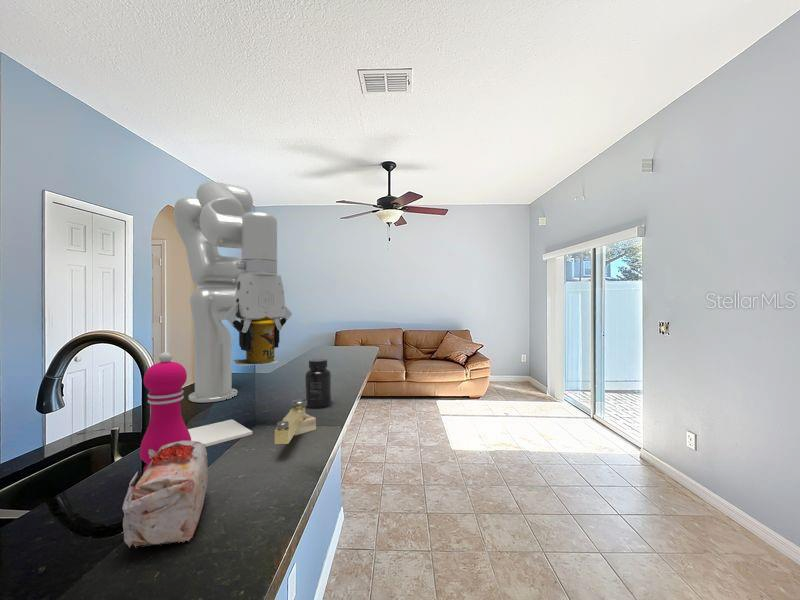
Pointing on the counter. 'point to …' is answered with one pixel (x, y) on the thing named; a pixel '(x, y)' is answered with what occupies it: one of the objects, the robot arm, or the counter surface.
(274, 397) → the counter surface
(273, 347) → the condiment
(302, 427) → the block
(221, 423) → the plate
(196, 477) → the food item
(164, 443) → the pepper mill
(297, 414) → the lever
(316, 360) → the supplement bottle
